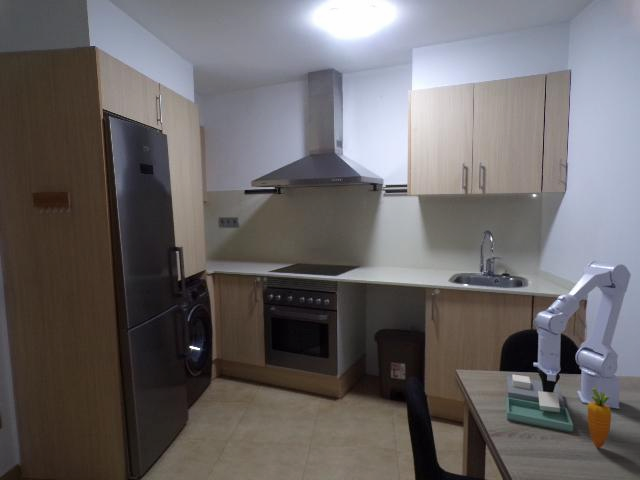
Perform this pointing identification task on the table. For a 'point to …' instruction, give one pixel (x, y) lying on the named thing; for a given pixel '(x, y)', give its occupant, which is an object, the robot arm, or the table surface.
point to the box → (538, 415)
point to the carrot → (599, 419)
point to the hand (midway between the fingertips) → (547, 394)
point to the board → (530, 391)
